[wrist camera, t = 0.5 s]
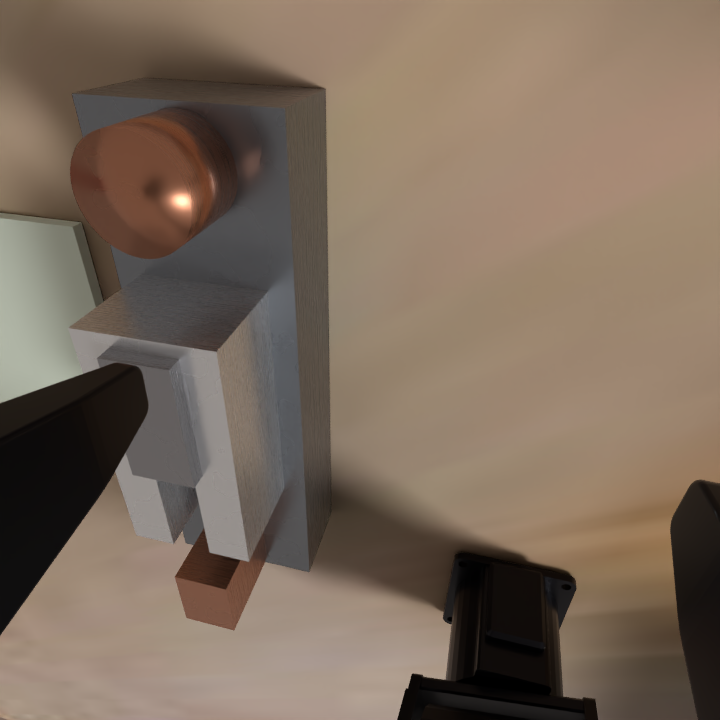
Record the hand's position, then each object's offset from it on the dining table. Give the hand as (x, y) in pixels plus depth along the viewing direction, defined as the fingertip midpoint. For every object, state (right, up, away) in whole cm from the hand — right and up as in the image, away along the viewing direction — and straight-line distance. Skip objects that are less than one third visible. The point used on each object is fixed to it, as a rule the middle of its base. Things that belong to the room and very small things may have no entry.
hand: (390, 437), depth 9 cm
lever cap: (-6, 0, +14) cm, 15 cm away
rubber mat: (-18, +3, +20) cm, 27 cm away
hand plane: (-5, +2, +17) cm, 18 cm away
